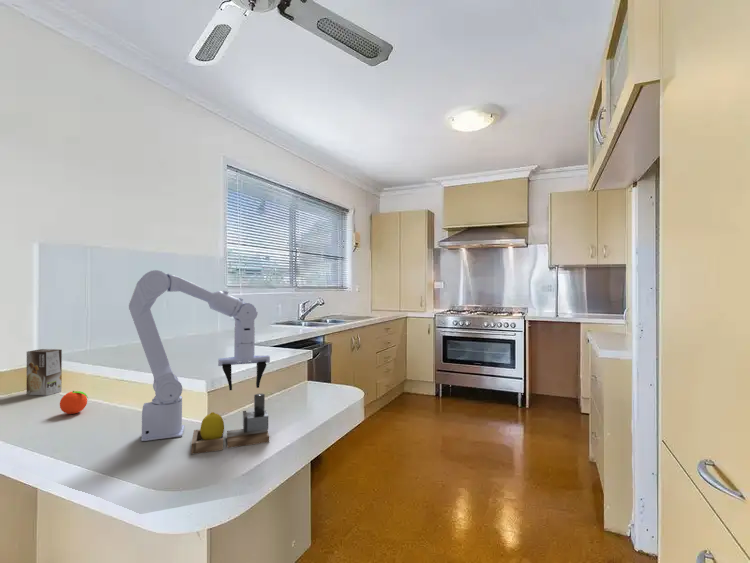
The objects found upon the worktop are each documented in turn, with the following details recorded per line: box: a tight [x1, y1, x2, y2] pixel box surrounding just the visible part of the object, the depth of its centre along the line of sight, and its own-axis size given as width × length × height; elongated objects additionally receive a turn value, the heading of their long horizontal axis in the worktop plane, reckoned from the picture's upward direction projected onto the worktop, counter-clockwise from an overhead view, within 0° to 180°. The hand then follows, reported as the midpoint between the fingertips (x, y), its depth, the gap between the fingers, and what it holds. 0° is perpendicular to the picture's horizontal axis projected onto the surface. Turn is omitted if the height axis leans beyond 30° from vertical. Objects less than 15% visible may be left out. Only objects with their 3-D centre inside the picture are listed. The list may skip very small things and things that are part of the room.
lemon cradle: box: [190, 428, 224, 455], centre depth 98 cm, size 7×10×2 cm
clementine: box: [59, 390, 89, 415], centre depth 123 cm, size 8×7×7 cm
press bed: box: [226, 428, 270, 449], centre depth 102 cm, size 10×8×2 cm
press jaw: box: [242, 393, 269, 433], centre depth 103 cm, size 6×6×8 cm
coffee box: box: [26, 348, 63, 396], centre depth 147 cm, size 9×6×16 cm
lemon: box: [200, 411, 225, 441], centre depth 99 cm, size 6×6×8 cm
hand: (244, 388), depth 117 cm, fingers open, 7 cm apart
